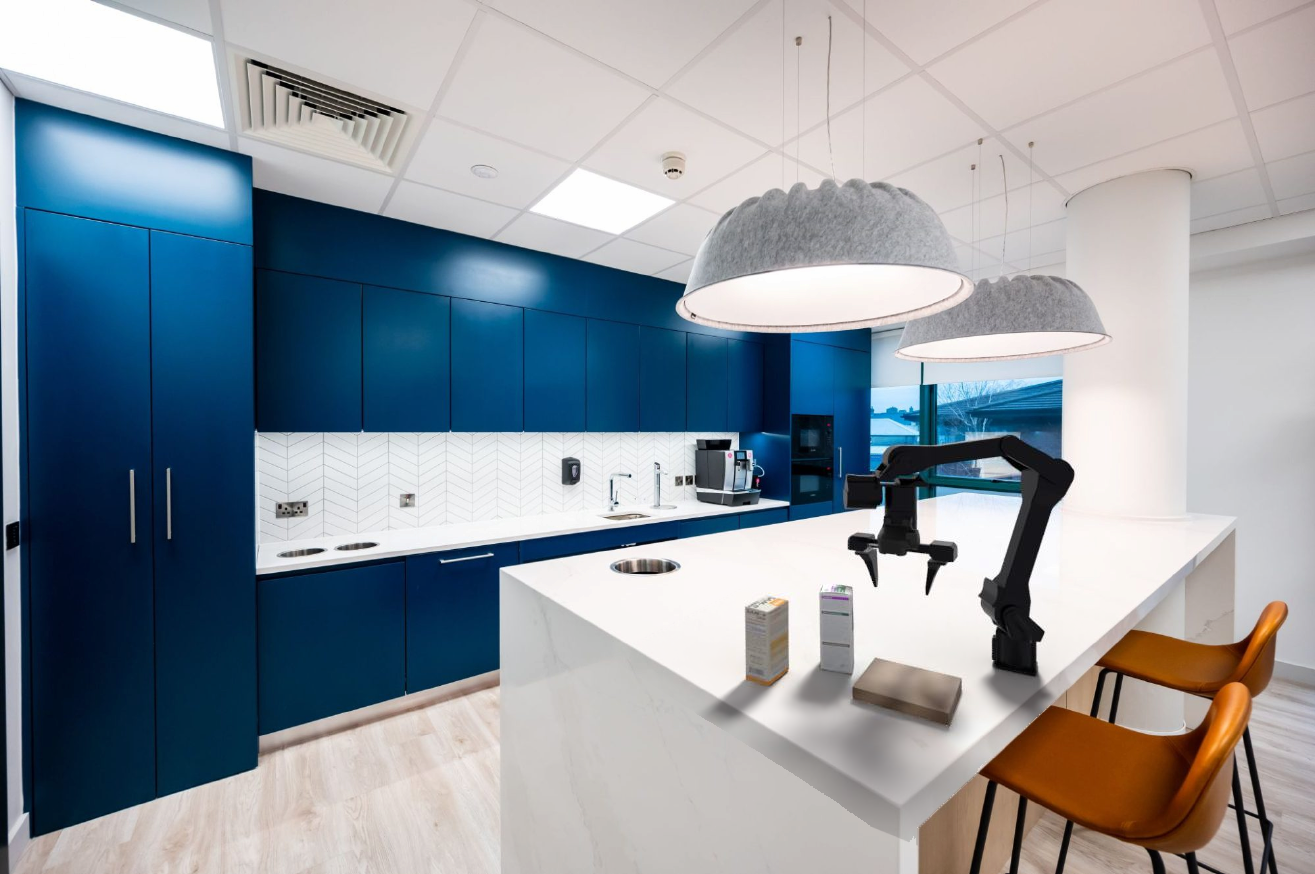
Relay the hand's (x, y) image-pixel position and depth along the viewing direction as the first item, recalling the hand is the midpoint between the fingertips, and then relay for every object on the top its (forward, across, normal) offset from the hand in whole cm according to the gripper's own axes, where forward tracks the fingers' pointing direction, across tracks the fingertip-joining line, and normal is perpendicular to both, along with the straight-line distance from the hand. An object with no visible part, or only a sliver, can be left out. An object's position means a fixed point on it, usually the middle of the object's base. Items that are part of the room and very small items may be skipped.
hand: (900, 590), depth 104 cm
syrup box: (+13, -9, -11) cm, 19 cm away
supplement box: (+13, -18, -22) cm, 31 cm away
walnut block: (+14, +4, -15) cm, 20 cm away
